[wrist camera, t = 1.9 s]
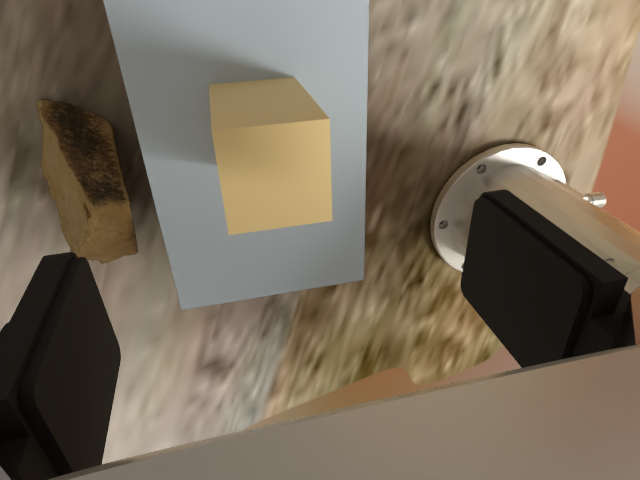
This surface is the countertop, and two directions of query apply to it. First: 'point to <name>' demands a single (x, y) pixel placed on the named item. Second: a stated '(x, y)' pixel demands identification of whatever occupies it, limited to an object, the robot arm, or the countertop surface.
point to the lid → (251, 138)
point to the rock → (86, 182)
